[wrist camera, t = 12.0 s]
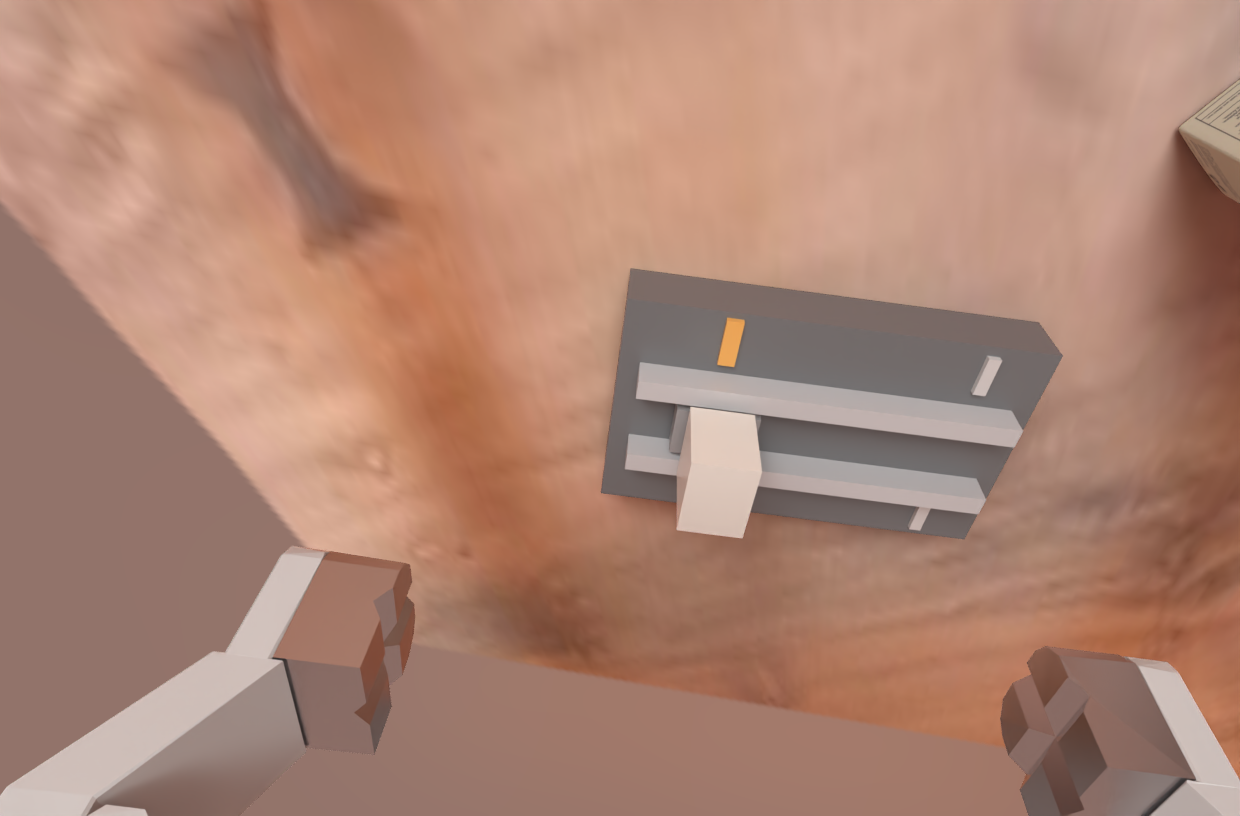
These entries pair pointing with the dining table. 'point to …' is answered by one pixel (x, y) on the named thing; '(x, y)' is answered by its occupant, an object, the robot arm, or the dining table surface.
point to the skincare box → (1218, 140)
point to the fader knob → (715, 468)
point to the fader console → (827, 398)
